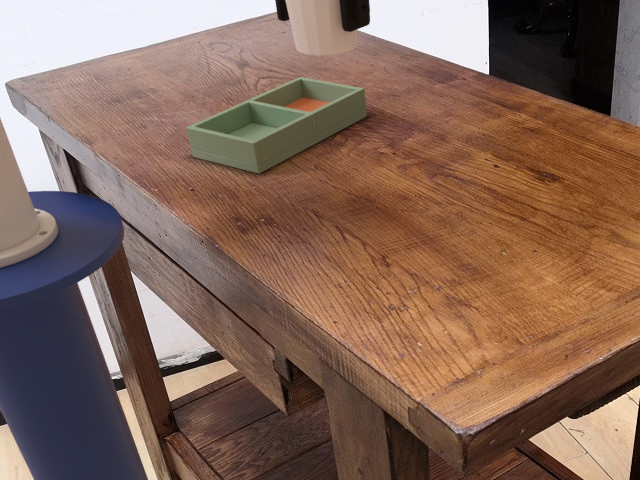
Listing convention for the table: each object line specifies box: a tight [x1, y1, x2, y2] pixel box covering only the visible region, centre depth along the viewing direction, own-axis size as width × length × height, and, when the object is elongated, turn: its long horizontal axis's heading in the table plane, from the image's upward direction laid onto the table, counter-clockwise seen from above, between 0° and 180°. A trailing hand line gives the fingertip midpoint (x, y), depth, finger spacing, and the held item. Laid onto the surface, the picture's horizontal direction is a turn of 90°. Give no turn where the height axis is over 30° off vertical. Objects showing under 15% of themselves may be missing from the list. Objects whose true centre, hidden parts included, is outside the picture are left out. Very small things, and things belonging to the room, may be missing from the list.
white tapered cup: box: [285, 0, 358, 57], centre depth 74 cm, size 7×7×7 cm
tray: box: [185, 76, 368, 174], centre depth 100 cm, size 20×10×4 cm, turn 147°
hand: (323, 20), depth 75 cm, fingers closed on white tapered cup, 6 cm apart
